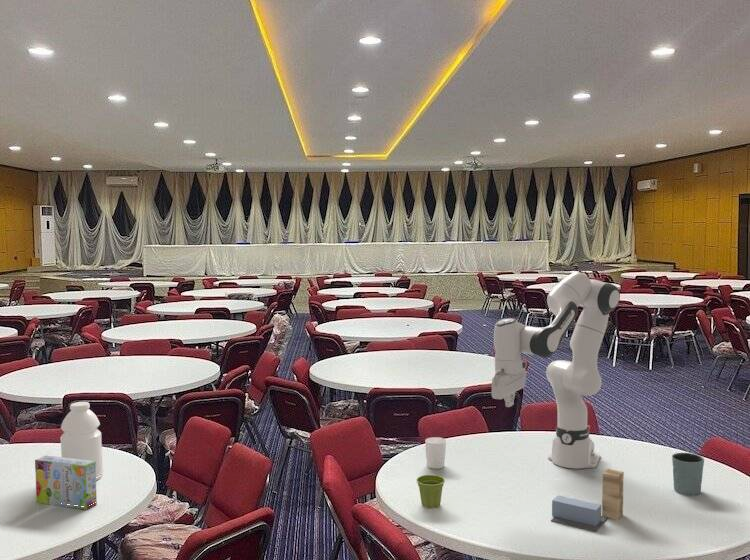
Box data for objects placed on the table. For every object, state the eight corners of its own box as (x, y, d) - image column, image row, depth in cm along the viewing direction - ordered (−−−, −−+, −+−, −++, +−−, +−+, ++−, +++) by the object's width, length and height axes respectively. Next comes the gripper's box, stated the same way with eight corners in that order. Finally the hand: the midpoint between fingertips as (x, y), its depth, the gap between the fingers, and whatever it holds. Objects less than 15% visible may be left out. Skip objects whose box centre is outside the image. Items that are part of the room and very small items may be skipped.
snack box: (98, 504, 241) (96, 460, 239) (86, 510, 235) (84, 465, 234) (47, 496, 248) (45, 454, 246) (35, 503, 242) (33, 459, 241)
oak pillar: (606, 511, 232) (607, 468, 231) (622, 514, 229) (623, 471, 228) (602, 516, 228) (602, 473, 227) (617, 520, 225) (618, 476, 224)
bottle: (53, 482, 261) (50, 406, 259) (82, 469, 274) (79, 397, 272) (83, 487, 256) (80, 410, 254) (111, 474, 269) (108, 400, 267)
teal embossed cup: (703, 488, 251) (704, 454, 250) (703, 498, 242) (704, 463, 241) (671, 484, 255) (672, 451, 254) (670, 493, 246) (671, 459, 245)
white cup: (444, 470, 271) (444, 444, 270) (423, 468, 273) (423, 442, 272) (446, 463, 279) (446, 437, 278) (426, 461, 280) (426, 436, 280)
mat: (564, 508, 234) (564, 507, 234) (607, 518, 226) (607, 517, 226) (550, 521, 224) (550, 520, 224) (595, 531, 216) (595, 531, 216)
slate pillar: (557, 495, 232) (601, 504, 224) (557, 510, 232) (601, 520, 224) (552, 500, 227) (596, 510, 219) (551, 515, 228) (595, 526, 220)
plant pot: (437, 513, 231) (437, 486, 231) (411, 507, 236) (411, 481, 236) (449, 503, 239) (449, 477, 239) (424, 497, 244) (424, 472, 243)
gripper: (503, 373, 236) (505, 414, 237) (528, 361, 252) (530, 400, 254) (485, 371, 240) (487, 412, 241) (511, 360, 256) (513, 398, 257)
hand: (509, 406), depth 247 cm, fingers closed
